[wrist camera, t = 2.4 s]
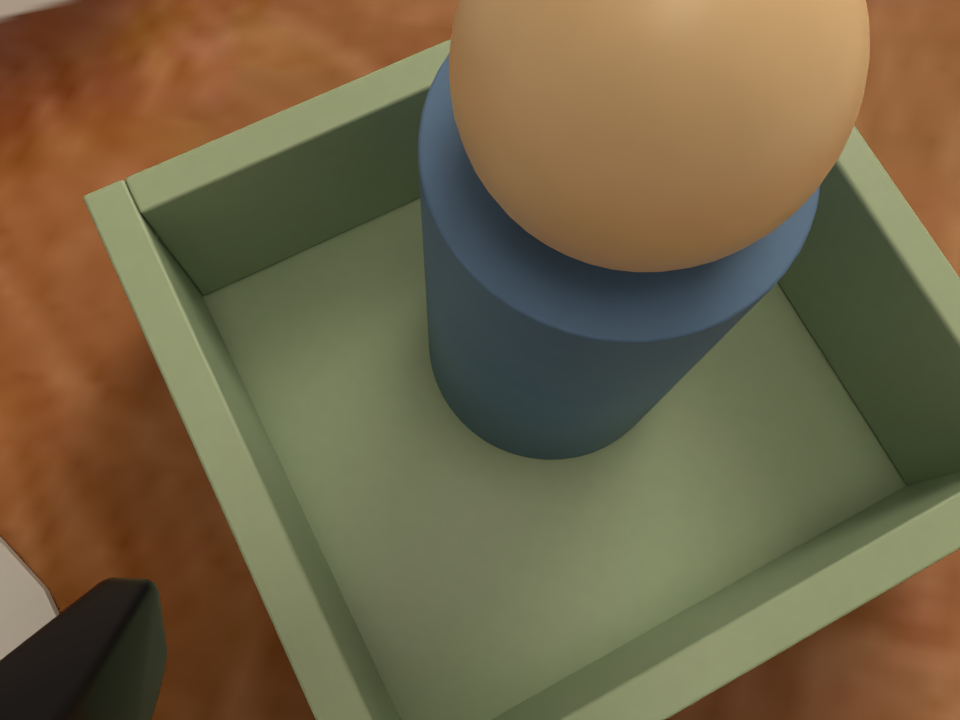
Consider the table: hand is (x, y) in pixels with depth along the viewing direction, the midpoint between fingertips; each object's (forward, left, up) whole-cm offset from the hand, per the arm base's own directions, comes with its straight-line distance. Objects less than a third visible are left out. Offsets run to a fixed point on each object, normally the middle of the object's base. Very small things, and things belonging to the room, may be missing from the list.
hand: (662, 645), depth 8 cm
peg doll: (+3, +5, -11) cm, 13 cm away
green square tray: (+3, +4, -12) cm, 13 cm away
